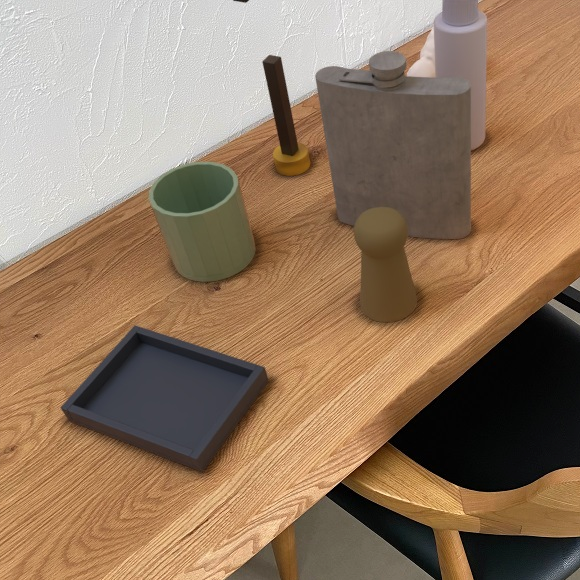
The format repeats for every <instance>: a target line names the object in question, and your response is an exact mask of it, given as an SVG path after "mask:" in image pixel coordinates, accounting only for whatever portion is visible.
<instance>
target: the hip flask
mask: <svg viewBox="0 0 580 580" xmlns="http://www.w3.org/2000/svg"><path fill="white" fill-rule="evenodd" d="M407 66H408V65H407V56H406V55H404V54H403V53H402V52H399V51H395V50H386V51H379V52H377V53H375V54H373V55H371V57H370V58H369V59H368V68H369V69H368V70H367V69H355V68H346V67H343V66H338V65H329V66H325V67H322V68H320V69H319V70H318V71H316V73H315V75H314V77H315V82H316V89H317V90H316V91H317V95H318V102H319V108H320V114H321V121H322V127H323V133H324V140H325V145H326V152H327V157H328V163H329V164H328V165H329V170H330V176H331V177H330V178H331V182H332V188H333V189H332V190H333V195H334V200H335V207H336V213H337V219H338V220H339V221H340V222H341V223H343V224H346V225H349V226H351V227H354V226H355V223H356V221H357V219H358V217H359V216H360V215H361V214H362V213H363V212H365V211H367V210H369V209H372V208H376V207H388V208H392V209H395V210H396V211H398V212H399V213H400V214H401V215H402V216H403V217H404V219H405V221H406V223H407V228H408V236H407V237H411V238H421V239H436V240H461V239H464V238H466V237H468V236H469V235H470V234H471V232H472V150H471V84H470V82H469V81H468V80H466V79H464V78H458V77H447V78H434V77H410V76H407V75H406V74H405V71H406V69H407Z"/></svg>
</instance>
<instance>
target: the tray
mask: <svg viewBox="0 0 580 580" xmlns="http://www.w3.org/2000/svg"><path fill="white" fill-rule="evenodd" d="M269 381H270V380H269V377H268V373H267V369H266V367H265V366H263V365H260V364H257V363H253V362H250V361H248V360H244V359H240V358H238V357H235V356H231V355H228V354H226V353H222V352H219V351H216V350H213V349H210V348H207V347H204V346H201V345H197V344H195V343H191V342H188V341H185V340H182V339H179V338H176V337H173V336H170V335H166V334H163V333H161V332H157V331H155V330H151V329H148V328H145V327H141V326H139V325H133V326H132V327H131V328H130V330H129V331H128V332H127V333H126V334H125V335H124V336H123V337H122V339H121V340H120V341H119V342H118V343H117V344H116V345H115V346H114V348H113V349H111V351H110V352H109V353H108V354H107V355H106V356H105V358H103V360H101V362H100V363H99V364H98V365H97V366H96V368H94V369H93V371H91V373H90V374H89V375H88V376H87V377H86V379H84V381H83V382H82V383H81V384H80V385H79V386H78V387H77V388H76V390H74V392H73V393H72V394H71V395H70V396H69V397H68V399H67V400H66V401H64V403H63V404H62V405H61V406H60V408H59V409H60V410H61V411H62V413H63V414H64V416H65V418H66V419H67V421H68V422H71V423H73V424H75V425H78V426H81V427H83V428H87V429H89V430H92V431H94V432H97V433H99V434H102V435H105V436H107V437H110V438H112V439H115V440H117V441H121V442H122V443H125V444H128V445H130V446H133V447H136V448H138V449H140V450H143V451H146V452H149V453H151V454H154V455H157V456H159V457H162V458H164V459H167V460H170V461H172V462H174V463H177V464H180V465H183V466H185V467H188V468H190V469H193V470H196V471H199V472H200V473H204V472H205V470H206V469H207V467H208V466H209V465H210V463H212V460H214V458H215V456H216V455H217V454H218V452H220V449H221V448H222V447H223V446H224V444H225V443H226V441H228V439H229V437H230V436H231V434H232V433H233V431H234V430H235V429H236V427H237V426H238V424H239V423H240V422H241V420H242V419H243V417H244V416H245V415H246V413H247V412H248V411H249V409H250V408H251V407H252V405H253V404H254V403H255V402H256V400H257V398H258V397H259V395H260V394H261V392H262V391H263V390H264V388H266V386H267V384H269Z"/></svg>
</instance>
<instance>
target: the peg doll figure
mask: <svg viewBox="0 0 580 580" xmlns="http://www.w3.org/2000/svg"><path fill="white" fill-rule="evenodd" d="M353 234H354V235H353V237H354V242H355V244H356V245H357V247H358V249H359V250H360V251H361V253H360V254H361V256H360V257H361V258H360V288H359V289H360V290H359V291H360V292H359V294H360V295H359V304H360V310H361V311H362V313H363V314H364V316H366V317H367V318H369V319H370V320H373V321H376V322H379V323H393V322H394V323H395V322H398V321H401V320H403V319H406V318H407V317H408V316H410V315H411V314H412V313H413V312H414V310H415V309H416V308H417V305H418V298H417V292H416V288H415V284H414V281H413V277H412V273H411V270H410V265H409V261H408V257H407V253H406V249H405V245H406V244H407V240H408V237H409V236H408V228H407V223H406V221H405V219H404V217H403V216H402V215H401V214H400V213H399V212H398V211H396V210H395V209H392V208H388V207H376V208H372V209H369V210H367V211H365V212H363V213H362V214H361V215H360V216H359V217H358V219H357V221H356V223H355V226H353Z"/></svg>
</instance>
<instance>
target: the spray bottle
mask: <svg viewBox="0 0 580 580" xmlns="http://www.w3.org/2000/svg"><path fill="white" fill-rule="evenodd" d="M441 5H442V8H441V9H442V10H441V11H440V12H439V13H438V14H437V15H436V16H435V17H434V19H433V26H434V49H435V77H436V78H447V77H458V78H464V79H466V80H468V81H469V82H470V84H471V151H474V150H476V149H478V148H479V147H481V146H482V145H483V144H484V142H485V139H486V132H487V131H486V130H487V129H486V127H487V126H486V125H487V123H486V122H487V120H486V119H487V70H488V69H487V65H488V64H487V63H488V59H487V58H488V16H487V14H486V13H484V12H483V11H482V10H481V9H479V0H442V3H441Z"/></svg>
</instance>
